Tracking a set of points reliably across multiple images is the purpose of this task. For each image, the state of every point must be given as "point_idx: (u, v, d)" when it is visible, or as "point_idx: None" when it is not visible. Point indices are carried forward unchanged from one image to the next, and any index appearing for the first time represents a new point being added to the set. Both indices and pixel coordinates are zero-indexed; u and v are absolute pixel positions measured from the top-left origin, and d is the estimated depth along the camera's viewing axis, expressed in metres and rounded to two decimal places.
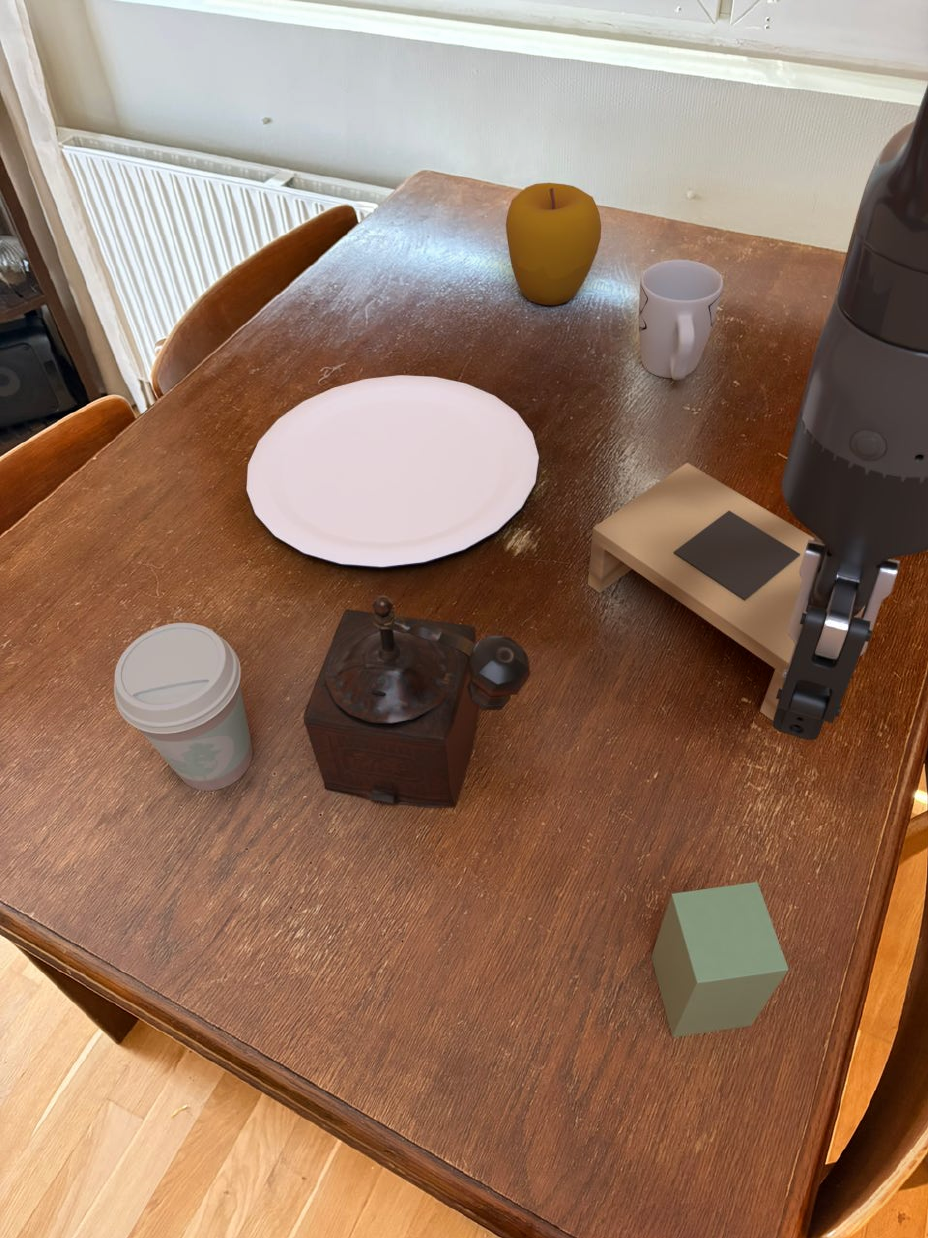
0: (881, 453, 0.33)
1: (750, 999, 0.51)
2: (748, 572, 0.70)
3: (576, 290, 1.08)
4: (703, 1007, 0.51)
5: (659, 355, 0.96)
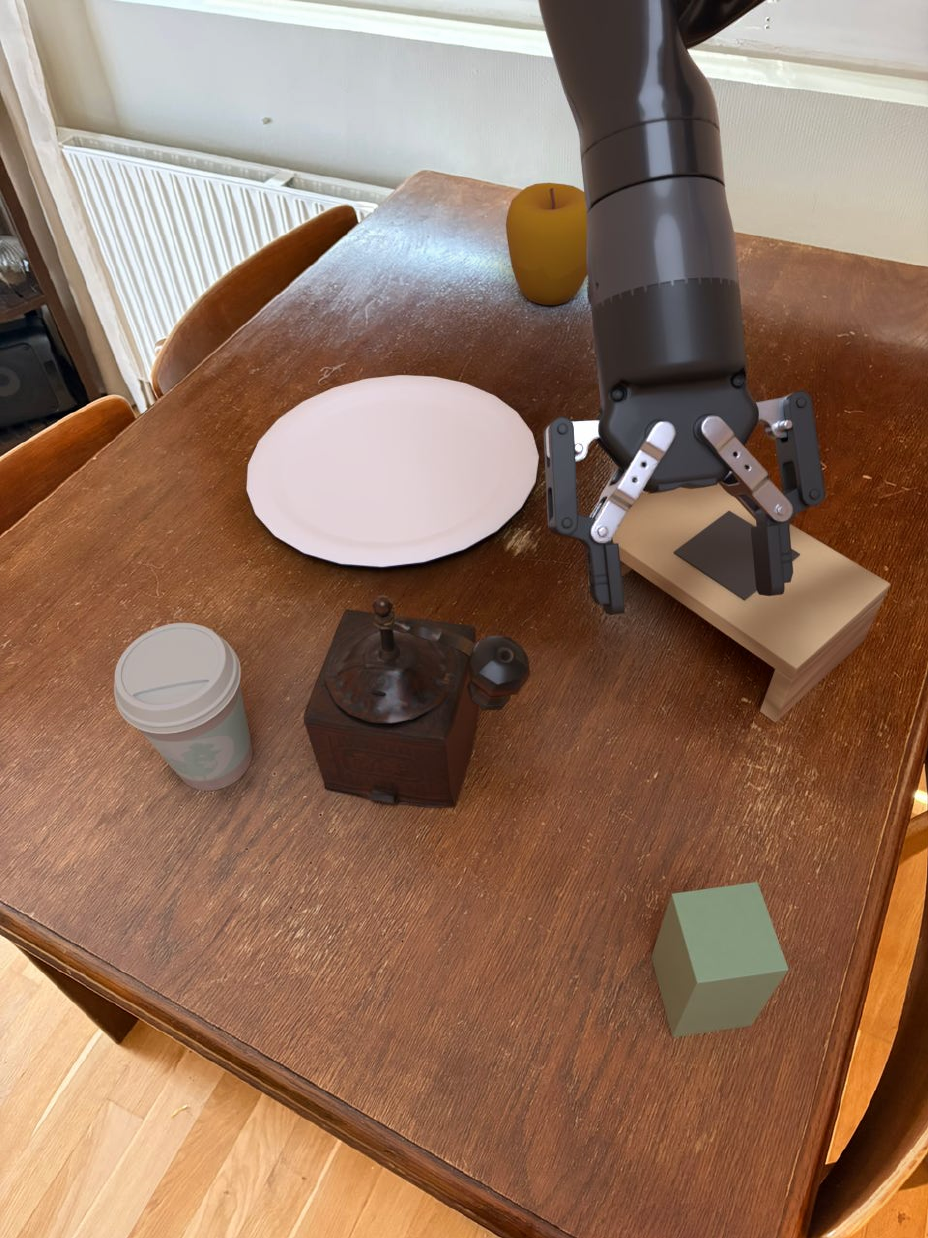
0: (589, 293, 0.47)
1: (750, 999, 0.51)
2: (748, 572, 0.70)
3: (576, 290, 1.08)
4: (703, 1007, 0.51)
5: None
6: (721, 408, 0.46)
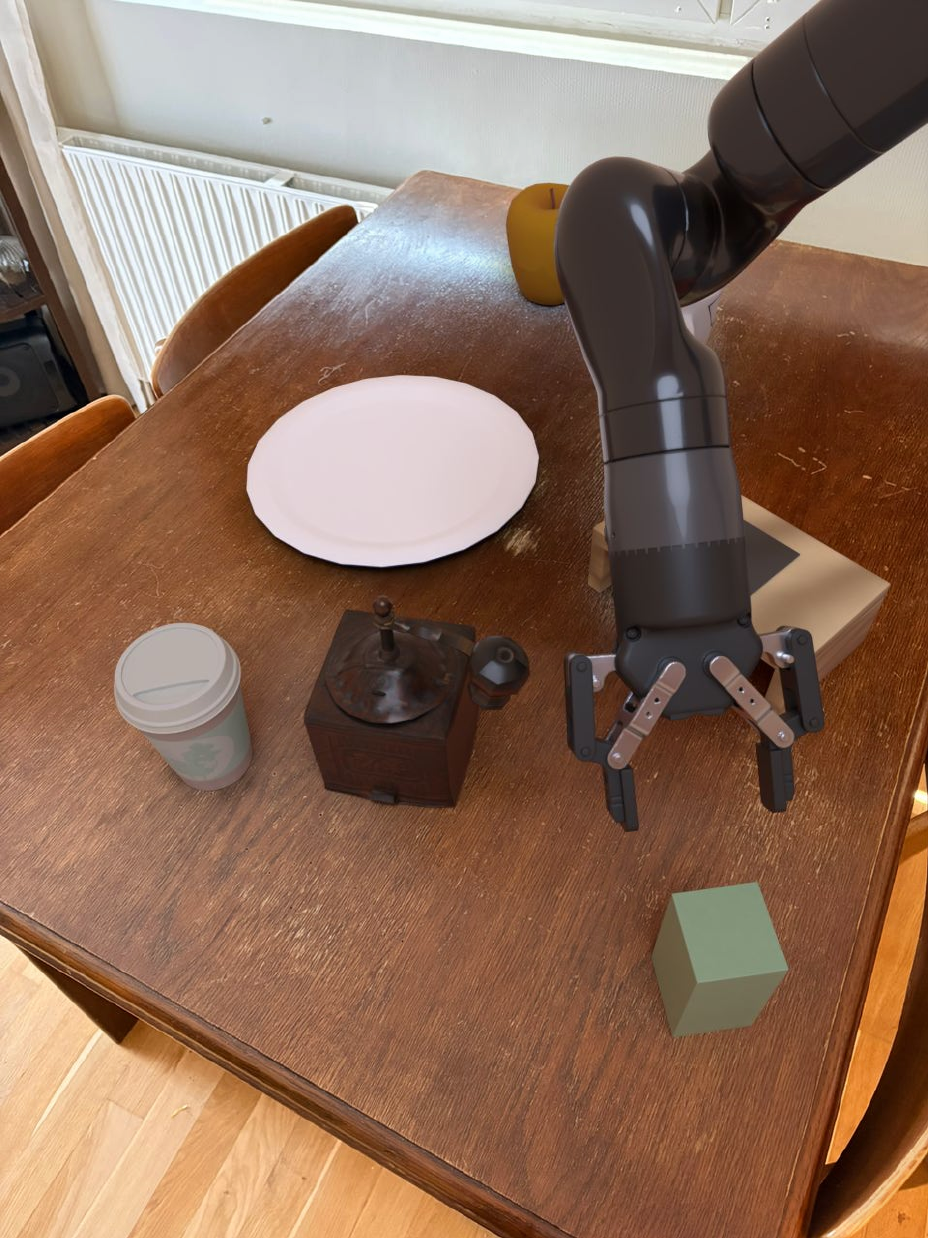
0: (606, 536, 0.50)
1: (750, 999, 0.51)
2: (748, 572, 0.70)
3: None
4: (703, 1007, 0.51)
5: None
6: (728, 645, 0.50)
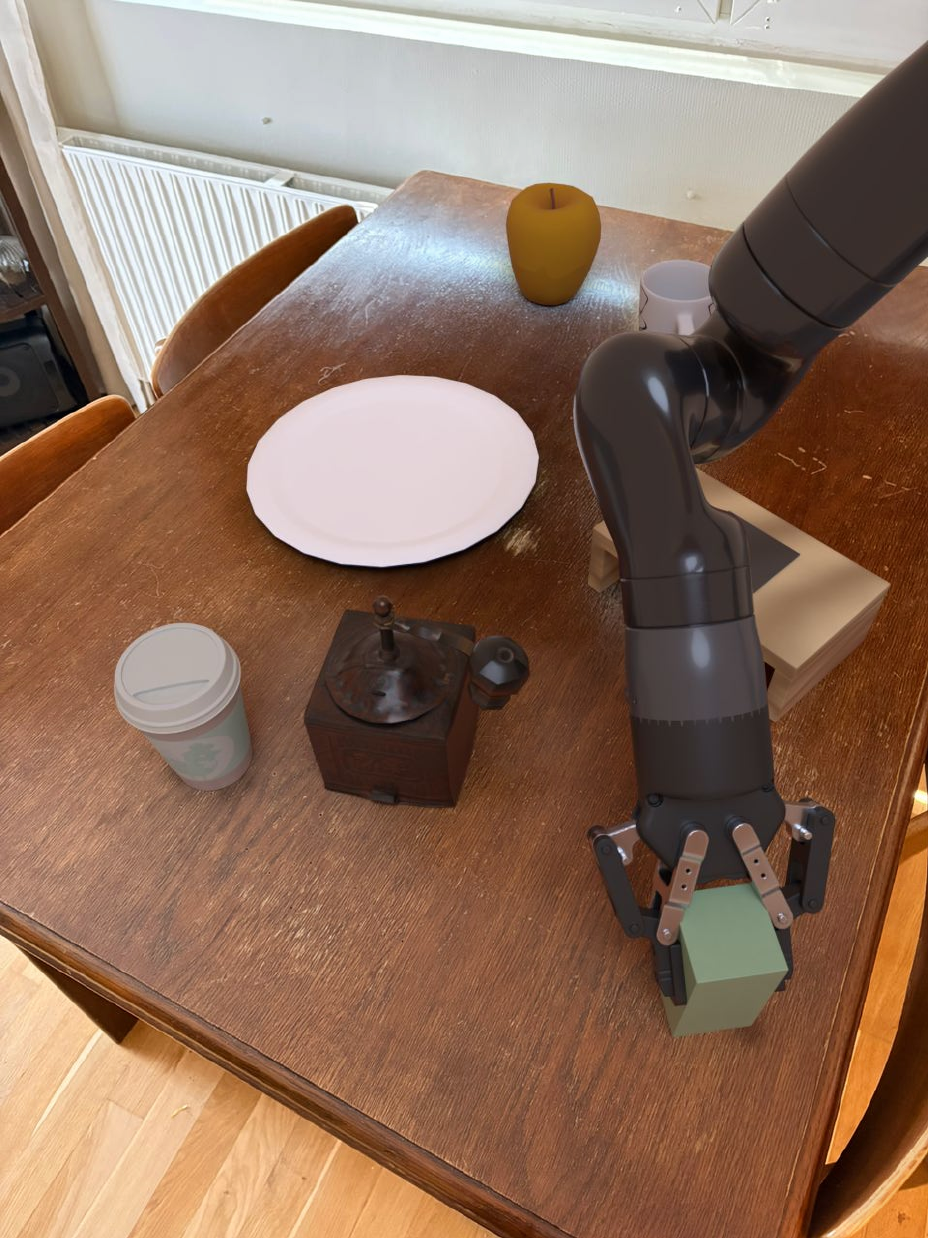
0: (627, 698, 0.50)
1: (750, 999, 0.51)
2: None
3: (576, 290, 1.08)
4: (703, 1007, 0.51)
5: None
6: (751, 810, 0.49)
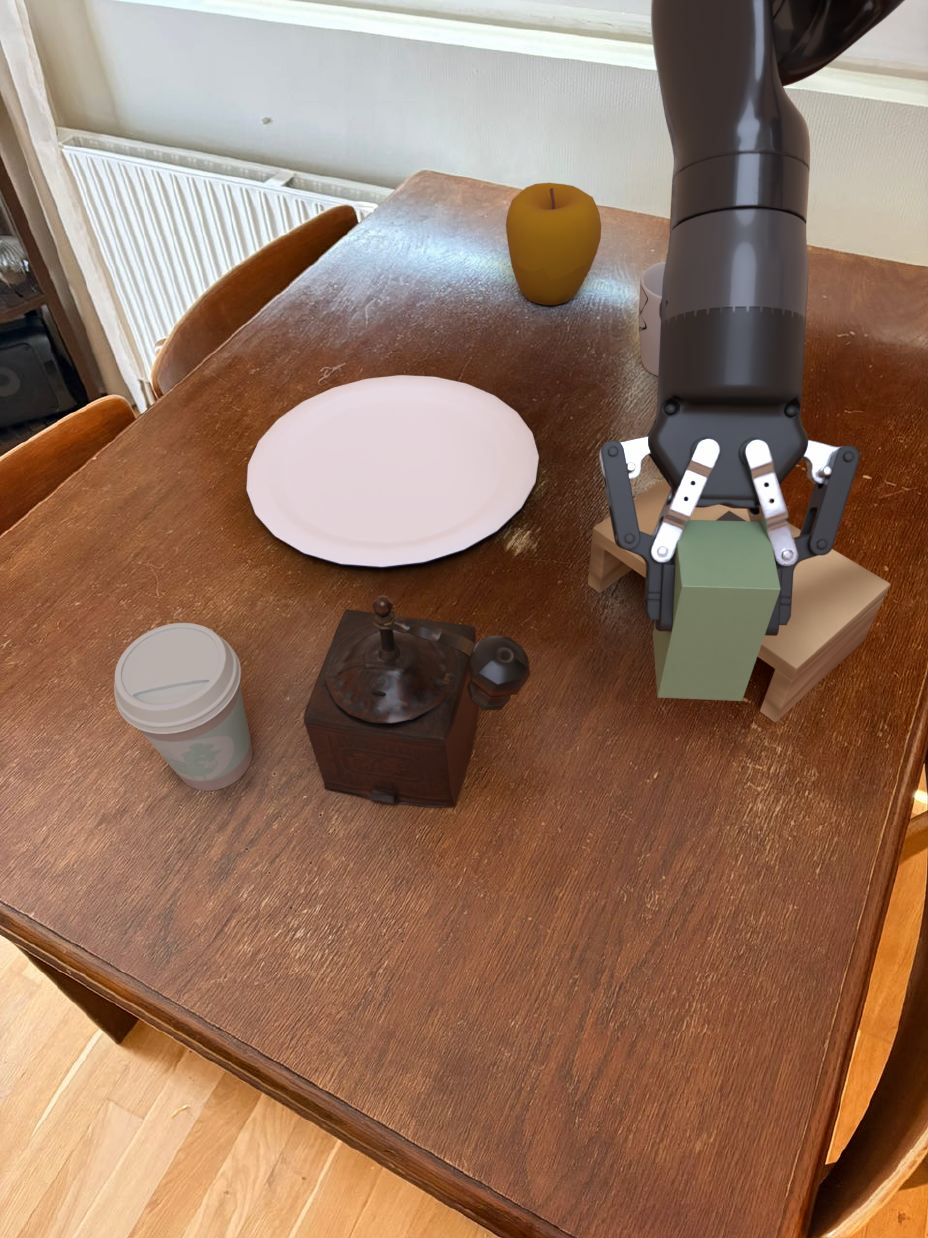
0: (660, 310, 0.49)
1: (740, 641, 0.49)
2: None
3: (576, 290, 1.08)
4: (689, 641, 0.50)
5: None
6: (770, 434, 0.48)
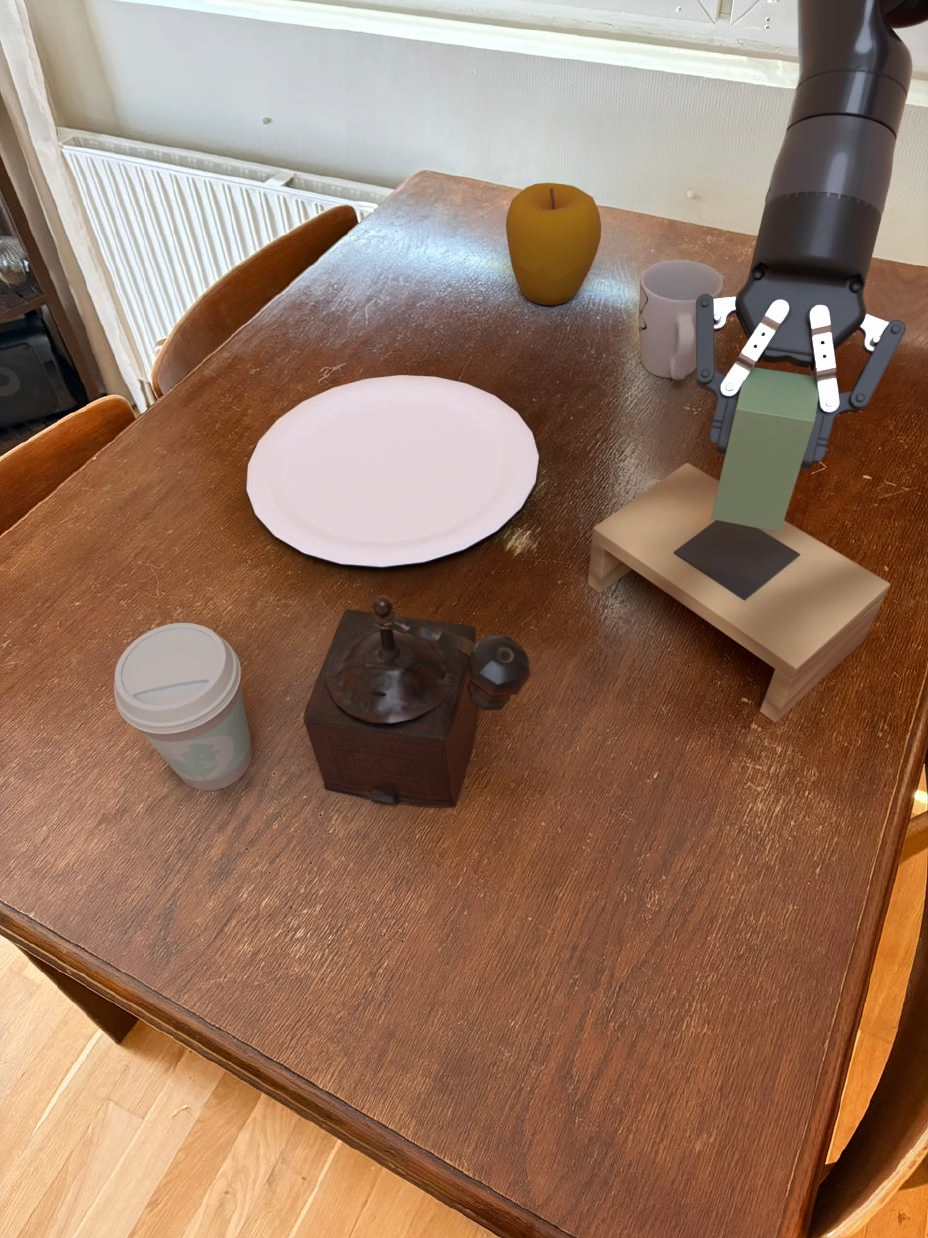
0: (766, 197, 0.61)
1: (780, 469, 0.61)
2: (748, 572, 0.70)
3: (576, 290, 1.08)
4: (739, 465, 0.62)
5: (659, 355, 0.96)
6: (834, 304, 0.59)
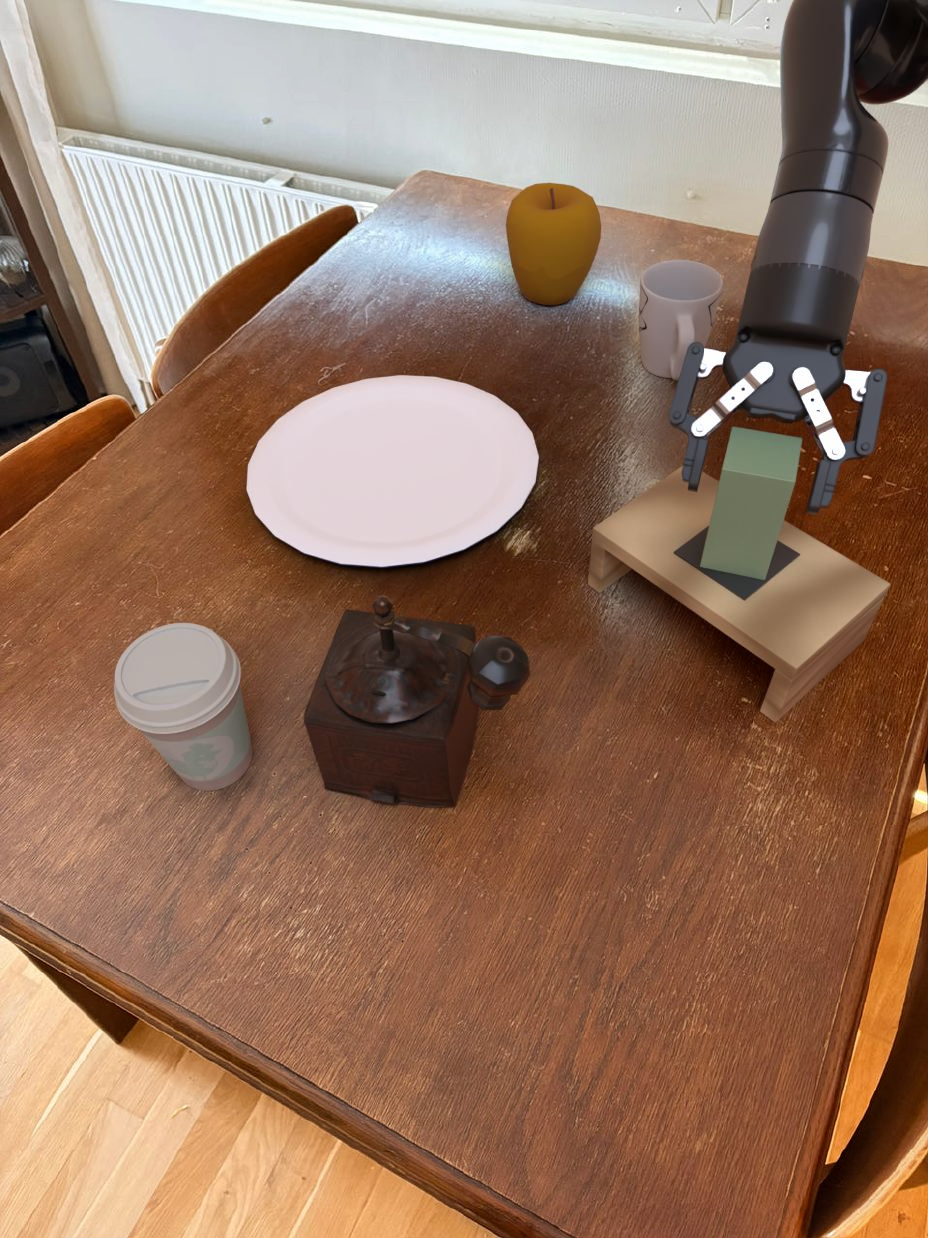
0: (752, 264, 0.65)
1: (764, 524, 0.65)
2: None
3: (576, 290, 1.08)
4: (726, 519, 0.66)
5: (659, 355, 0.96)
6: (815, 366, 0.63)
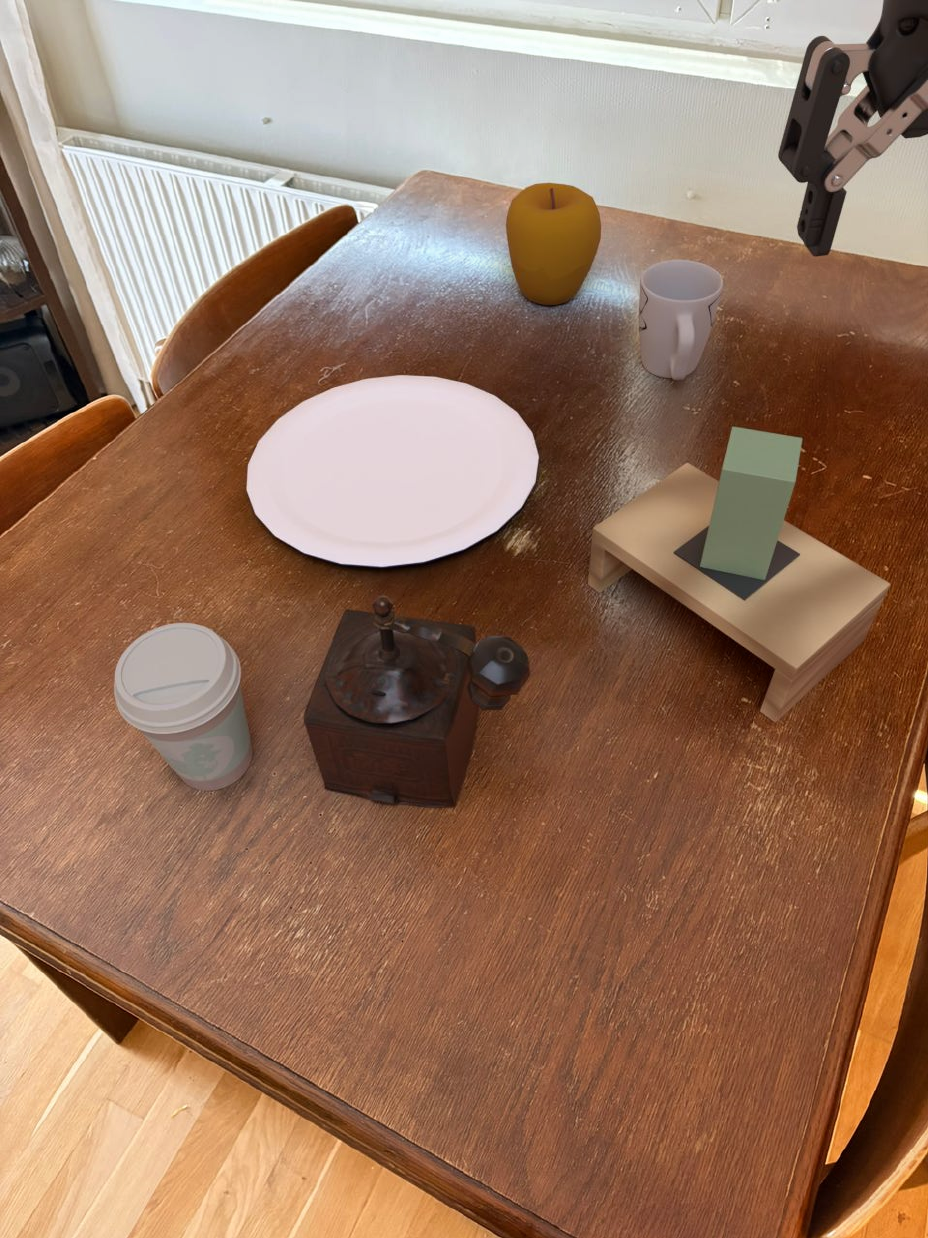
0: None
1: (764, 524, 0.65)
2: None
3: (576, 290, 1.08)
4: (726, 519, 0.66)
5: (659, 355, 0.96)
6: None
